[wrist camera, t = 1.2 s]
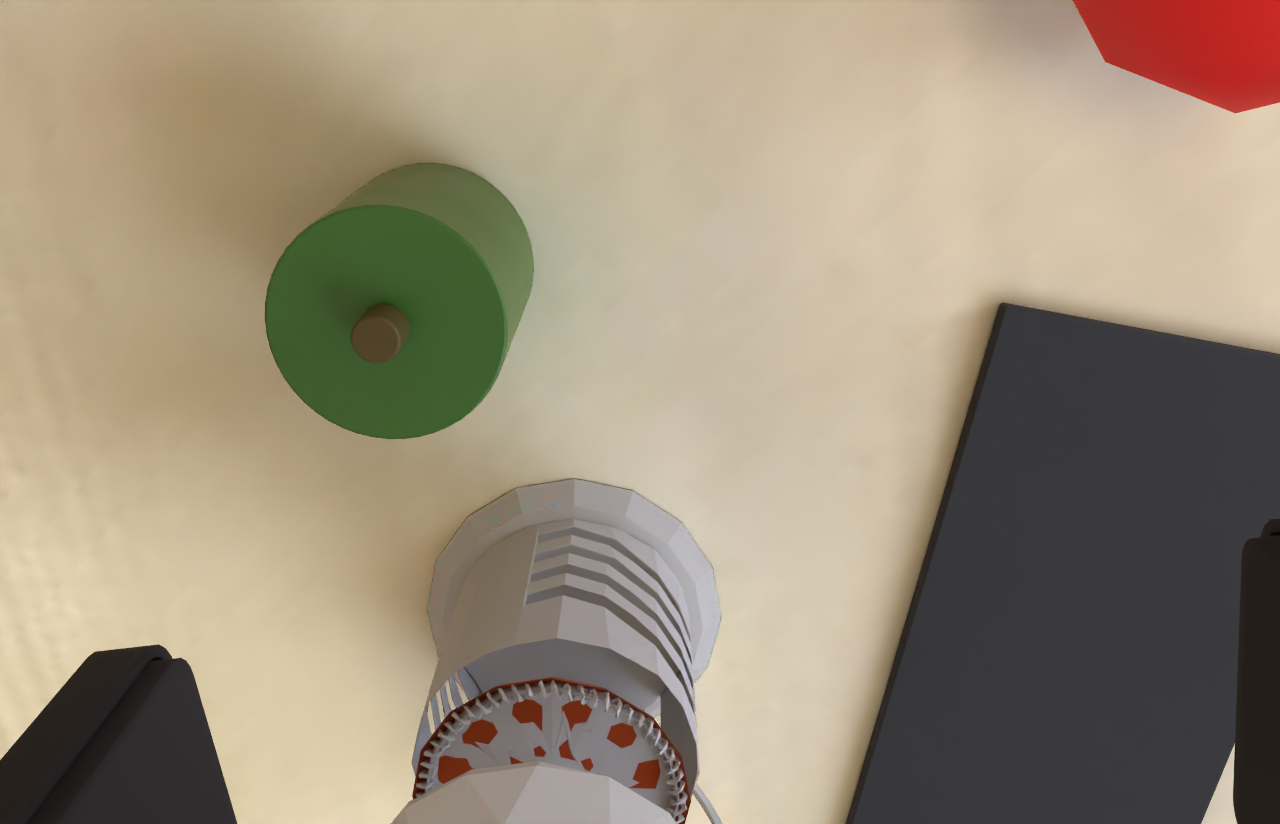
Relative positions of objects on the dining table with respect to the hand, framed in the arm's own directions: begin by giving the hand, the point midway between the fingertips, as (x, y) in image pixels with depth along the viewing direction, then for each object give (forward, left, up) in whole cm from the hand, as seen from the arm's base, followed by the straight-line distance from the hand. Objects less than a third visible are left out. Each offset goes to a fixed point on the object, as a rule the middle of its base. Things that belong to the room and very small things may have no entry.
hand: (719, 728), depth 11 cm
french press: (0, -15, -27) cm, 30 cm away
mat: (+16, -11, -27) cm, 33 cm away
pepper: (-7, -3, -27) cm, 28 cm away
